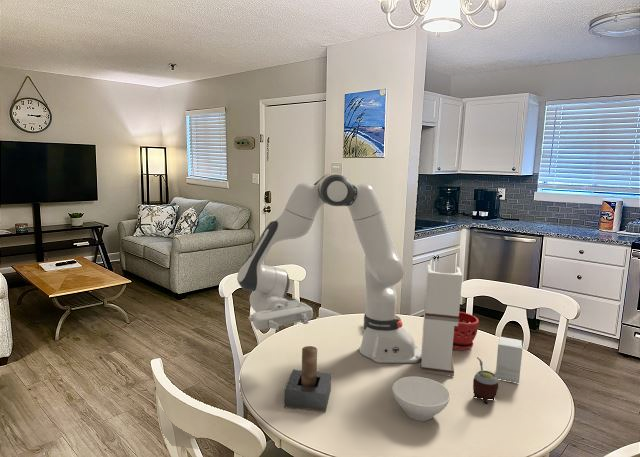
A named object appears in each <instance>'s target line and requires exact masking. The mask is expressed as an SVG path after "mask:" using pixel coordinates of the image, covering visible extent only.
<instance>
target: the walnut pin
mask: <svg viewBox="0 0 640 457" xmlns="http://www.w3.org/2000/svg"><path fill="white" fill-rule="evenodd" d="M317 362H318V348H317V347H315V346H311V345H306V346H304V347H302V349H301V370H302V376H301V386H309V387H316V373H317V372H318V371H317V370H318V368H317V366H318V363H317Z"/></svg>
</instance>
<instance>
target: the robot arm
mask: <svg viewBox="0 0 640 457" xmlns="http://www.w3.org/2000/svg"><path fill="white" fill-rule="evenodd" d="M286 202H287V203H286V204H285V207H284V209H283V211H282V213H281V214H280V215H279V217H277V218H276V219H275V220H273V221H271V222H270V221H269V223H268V225H267V226H266V227H265V228H264V230H263V232H262V233H261V235H260V236H259V238H258V240H257V242H256V244H255V245H254V247H253V249H252V250H251V252H250V254H249V256H248V257H247V259H246V260H245V261H244V263H243V264H242V265H241V266H240V267H239V270H238V273H237V283H238V285H239V286H240V288H241V289H242V290H243V291H246V292H247V291H248V292H251V293H250V295H249V304H250V307H251V308H252V310H253V311H254V312H253V313H252V314H251V315H250V316H248V320H249V322H252V325H253V327H254V328H255V330H258V331H263V330H268V329H275V330H276V331H279V330H282V326H286V325H291V324H295V323H300V322H301V323H302V324H303V325H307V324H309V321H310V320H312V319H313V318H314V315H313V314H314V311H313V308H312V307H311V306H310V305H308V304H306V303H305V302H302V301H300V300H299V298H295V297H294V298H293V297H292V298H285V297H286V296H287V294H288V291H289V288H290V285H291V282H290V277H289V274H288V272H287V271H286V269H285V268H284V269H282V268H279V267H276V266H269V265H266V264H263V261H264V260H265V258H266V257H267V256H268V253H269V251H270V250H271V248H272V247H273V245H276V244H278V242H282V241H285V240H286V241H287V240H297V239H299V238H300V239H301V238H302V237H304V236H305V235H307V234H308V233H309V232H310V230H311V228H312V226H313V223H314V221H315V219H316V218H315V217H317V216H316V215H317V213H318V211H319V209H320V208H321V207H322V206H323V205H330V206H331V207H347V208H348V210H349V212H350V216H351V219H352V222H353V225H354V229H355V232H356V234H357V237H358V240H359V242H360V243H359V244H360V245H361V248H362V249H363V250H362V251H363V252H364V272H365V275H364V278H365V289H366V291H365V294H366V296H365V297H366V298H365V299H366V300H365V313H364V314H363V315H364V316H363V324H362V325H363V326H362V327H363V335H362V341H361V343H360V346H359V350H358V351H359V352H360V354H362V355H363V356H364V357H366V358H369V359H371V360H372V361H374V362H375V363H378V364H379V363H380V364H383V363H387V364H389V363H390V364H391V363H393V364H394V363H395V364H397V363H400V364H405V363H406V364H407V363H410V364H416V363H418V362H419V361H421V350H420V347H418V346H417V345H416V344H415V340H414V337H413V335H412V334H411V333H410V332H409V331H407V330H406V329H405V328H404V327H403V325H404V324H403V322H402V319H401V317H400V315H396V314H397V300H398V295H397V289H396V284H399V282H401V280H402V279H403V278H404V275H405V267H404V264H403V262H402V259H401V257H400V254H399V251H398V250H397V246H396V244H395V242H394V240H393V237H392V235H391V233H390V230H389V227H388V224H387V221H386V218H385V214H384V212H383V211H384V210H383V208H382V205H381V202H380V200H379V198H378V195H377V193H376V192H375V190H374V188H373V186H372V185H370V184H368V183H358V184H354V183H352V181H351V180H350V179H348V177H346V176H344V175H343V174H341V173H336V172H330V173H327V174H324V176H322V177H321V178H320V179H318V180H317V181H316V182H315V183H314V184H312V183H308V182H300V183H298V184H297V185H296V186H295V188H294V189H293V191H292V192H291V194H290V196H289V198H288V199H287V201H286Z"/></svg>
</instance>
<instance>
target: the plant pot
mask: <svg viewBox="0 0 640 457" xmlns="http://www.w3.org/2000/svg"><path fill="white" fill-rule="evenodd" d="M479 323H480V321H479V318H478V317H476V316H475V315H472V314H470V313H468V312H463V311H459V321H458V326H454V336H453V348H452V350H458V351H468V350H470V349H471V348H473V347H474V342H473V341H474V340H475V338H476V336H477V333H478V331H479Z"/></svg>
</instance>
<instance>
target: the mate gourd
mask: <svg viewBox="0 0 640 457" xmlns="http://www.w3.org/2000/svg"><path fill="white" fill-rule="evenodd" d="M476 359H477V360H478V361H479V365H480V370H479V371H478V372H476V373H475V375H474V377H473V380H472V382H473V383H472V390H473V398H474V397H477V398H483V400H484V401H483V400H482V401H483V404H484V403H485V404H487V405H488V402H487V401H488V400H487V399H493V400H494V398H495V399H496V396H497V393H498V390H499V380H498V379H497V377H496V373H495V374H494V373H493V372H491V371H489V370H483V367H484V366H483V365H484V364H483V360H482V359H480V358H479V356H477V357H476ZM485 404H484V405H485Z"/></svg>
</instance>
